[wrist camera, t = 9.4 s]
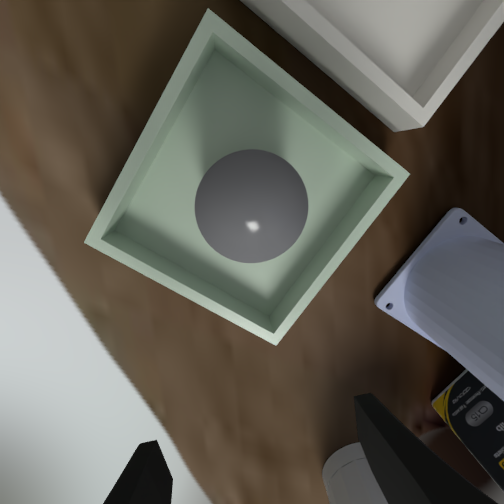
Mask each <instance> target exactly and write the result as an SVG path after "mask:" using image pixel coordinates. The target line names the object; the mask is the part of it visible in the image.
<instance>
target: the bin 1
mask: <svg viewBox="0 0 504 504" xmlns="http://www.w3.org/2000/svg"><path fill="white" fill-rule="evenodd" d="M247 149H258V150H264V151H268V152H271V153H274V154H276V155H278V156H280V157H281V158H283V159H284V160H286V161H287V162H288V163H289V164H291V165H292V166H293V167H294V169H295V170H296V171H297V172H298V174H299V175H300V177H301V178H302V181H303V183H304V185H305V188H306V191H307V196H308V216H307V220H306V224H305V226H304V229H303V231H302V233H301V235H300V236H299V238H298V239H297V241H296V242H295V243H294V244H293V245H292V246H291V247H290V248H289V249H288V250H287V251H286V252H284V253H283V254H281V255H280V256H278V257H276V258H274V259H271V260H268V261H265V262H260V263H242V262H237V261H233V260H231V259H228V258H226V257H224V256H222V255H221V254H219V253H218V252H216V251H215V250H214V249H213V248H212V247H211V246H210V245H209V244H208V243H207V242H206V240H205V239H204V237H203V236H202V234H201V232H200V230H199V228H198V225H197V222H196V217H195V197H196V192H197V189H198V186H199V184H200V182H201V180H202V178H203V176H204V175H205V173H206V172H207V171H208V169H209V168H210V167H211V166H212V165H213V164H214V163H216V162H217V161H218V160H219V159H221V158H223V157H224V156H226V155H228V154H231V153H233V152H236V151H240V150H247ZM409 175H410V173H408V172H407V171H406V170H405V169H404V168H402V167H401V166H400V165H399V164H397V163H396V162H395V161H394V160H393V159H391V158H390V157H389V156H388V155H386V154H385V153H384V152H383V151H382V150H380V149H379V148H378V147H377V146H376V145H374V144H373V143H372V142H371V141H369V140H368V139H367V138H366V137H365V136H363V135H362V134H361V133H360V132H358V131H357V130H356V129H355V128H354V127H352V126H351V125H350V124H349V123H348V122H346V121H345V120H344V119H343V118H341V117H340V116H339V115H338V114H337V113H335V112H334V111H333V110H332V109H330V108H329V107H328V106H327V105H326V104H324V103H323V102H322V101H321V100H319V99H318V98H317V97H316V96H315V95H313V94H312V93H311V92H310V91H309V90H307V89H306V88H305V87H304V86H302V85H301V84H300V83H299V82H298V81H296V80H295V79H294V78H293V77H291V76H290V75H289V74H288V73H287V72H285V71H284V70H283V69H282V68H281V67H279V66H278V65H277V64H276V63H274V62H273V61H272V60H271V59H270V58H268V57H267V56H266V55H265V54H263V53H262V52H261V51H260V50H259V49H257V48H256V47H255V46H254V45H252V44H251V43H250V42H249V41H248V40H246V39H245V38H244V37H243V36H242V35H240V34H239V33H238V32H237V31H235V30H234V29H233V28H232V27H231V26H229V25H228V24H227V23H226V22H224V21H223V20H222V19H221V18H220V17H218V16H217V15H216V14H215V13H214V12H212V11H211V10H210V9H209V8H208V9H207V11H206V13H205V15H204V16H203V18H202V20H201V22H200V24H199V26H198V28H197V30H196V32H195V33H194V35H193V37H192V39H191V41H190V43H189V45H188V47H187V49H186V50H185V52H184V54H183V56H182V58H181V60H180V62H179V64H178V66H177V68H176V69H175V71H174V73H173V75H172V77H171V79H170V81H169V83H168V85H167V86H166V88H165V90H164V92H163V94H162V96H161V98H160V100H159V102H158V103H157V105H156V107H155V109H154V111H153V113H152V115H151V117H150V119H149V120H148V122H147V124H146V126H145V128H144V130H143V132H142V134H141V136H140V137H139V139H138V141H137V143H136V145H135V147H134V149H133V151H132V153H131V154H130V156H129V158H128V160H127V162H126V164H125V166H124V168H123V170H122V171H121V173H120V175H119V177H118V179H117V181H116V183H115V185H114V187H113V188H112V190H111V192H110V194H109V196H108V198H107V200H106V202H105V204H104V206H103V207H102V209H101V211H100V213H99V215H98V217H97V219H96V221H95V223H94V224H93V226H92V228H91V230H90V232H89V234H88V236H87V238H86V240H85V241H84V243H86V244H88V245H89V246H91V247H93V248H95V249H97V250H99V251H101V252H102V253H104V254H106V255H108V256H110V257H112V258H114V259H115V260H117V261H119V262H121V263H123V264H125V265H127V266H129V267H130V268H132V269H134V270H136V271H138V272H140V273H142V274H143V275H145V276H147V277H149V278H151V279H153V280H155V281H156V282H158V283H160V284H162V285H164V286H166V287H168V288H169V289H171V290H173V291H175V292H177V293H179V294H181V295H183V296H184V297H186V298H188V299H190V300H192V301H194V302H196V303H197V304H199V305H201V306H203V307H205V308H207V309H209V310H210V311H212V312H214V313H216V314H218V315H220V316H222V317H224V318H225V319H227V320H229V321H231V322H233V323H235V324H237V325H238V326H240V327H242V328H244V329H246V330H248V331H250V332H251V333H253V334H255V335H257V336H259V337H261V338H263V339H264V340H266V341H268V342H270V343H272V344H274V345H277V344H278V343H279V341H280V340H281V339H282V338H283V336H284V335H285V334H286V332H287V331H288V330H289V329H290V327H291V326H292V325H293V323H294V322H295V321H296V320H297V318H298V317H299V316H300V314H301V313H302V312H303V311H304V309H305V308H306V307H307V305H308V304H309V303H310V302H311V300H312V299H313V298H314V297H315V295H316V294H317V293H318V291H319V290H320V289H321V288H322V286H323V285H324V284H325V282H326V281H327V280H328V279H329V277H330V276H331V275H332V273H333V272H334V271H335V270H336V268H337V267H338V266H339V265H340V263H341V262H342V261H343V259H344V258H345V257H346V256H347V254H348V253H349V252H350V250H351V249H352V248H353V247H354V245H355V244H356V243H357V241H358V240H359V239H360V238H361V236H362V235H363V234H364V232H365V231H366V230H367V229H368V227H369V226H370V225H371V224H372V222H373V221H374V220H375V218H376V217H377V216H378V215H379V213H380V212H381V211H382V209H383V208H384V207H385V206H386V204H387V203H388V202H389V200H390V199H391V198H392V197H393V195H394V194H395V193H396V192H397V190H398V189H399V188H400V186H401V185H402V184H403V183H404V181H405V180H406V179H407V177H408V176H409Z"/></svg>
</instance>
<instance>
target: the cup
mask: <svg viewBox="0 0 504 504" xmlns="http://www.w3.org/2000/svg"><path fill="white" fill-rule="evenodd" d="M322 477H323V481H324V484H325V487H326V491H327V494H328V498H329V502H330V504H388V502H387V501H386V499H385V497H384V495H383V493H382V491H381V489H380V487H379V485H378V483H377V481H376V479H375V477H374V475H373V473H372V471H371V468H370V466H369V464H368V461H367V459H366V456H365V454H364V451H363V449H362V446H361V444H360V442H358V443H353V444H350V445H347V446H345V447H343V448H341V449H339V450H337V451H336V452H335V453H333V454H332V455H331V456H330V457H329V458H328V460H327V461H326V463H325V465H324V467H323V471H322Z"/></svg>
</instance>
